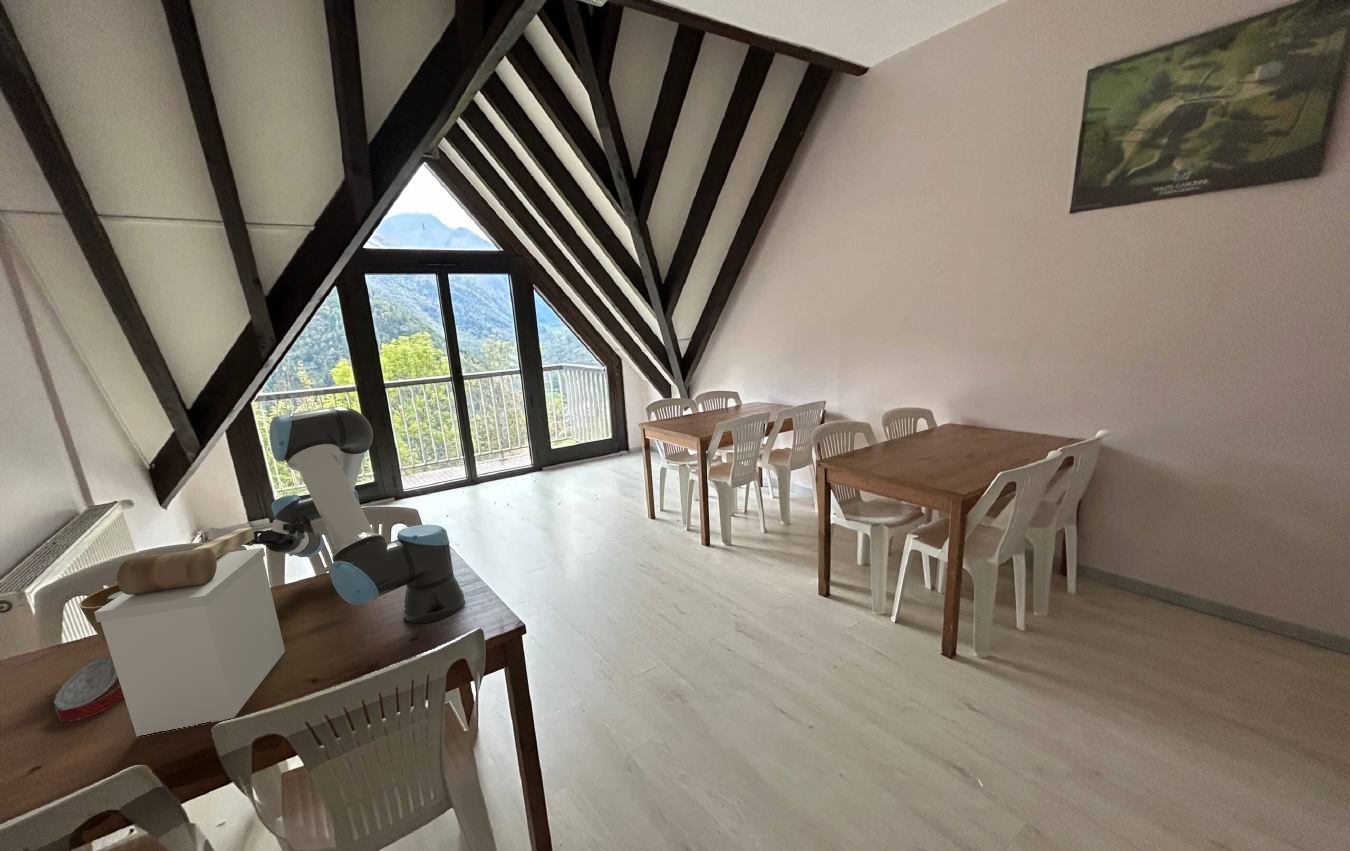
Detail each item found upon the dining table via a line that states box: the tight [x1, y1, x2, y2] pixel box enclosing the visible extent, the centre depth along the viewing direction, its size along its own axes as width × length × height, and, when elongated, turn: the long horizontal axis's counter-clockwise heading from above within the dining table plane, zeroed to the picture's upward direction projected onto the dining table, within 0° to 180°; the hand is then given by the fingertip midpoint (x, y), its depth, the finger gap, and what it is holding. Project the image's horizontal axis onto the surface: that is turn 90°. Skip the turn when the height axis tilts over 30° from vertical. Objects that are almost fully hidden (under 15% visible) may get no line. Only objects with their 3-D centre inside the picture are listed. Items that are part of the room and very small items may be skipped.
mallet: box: [116, 526, 255, 595], centre depth 112 cm, size 30×12×7 cm, turn 15°
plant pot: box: [78, 583, 121, 646], centre depth 126 cm, size 15×15×16 cm
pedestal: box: [94, 547, 286, 737], centre depth 108 cm, size 22×17×27 cm
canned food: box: [53, 656, 124, 722], centre depth 108 cm, size 11×10×10 cm
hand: (242, 529), depth 126 cm, fingers open, 13 cm apart
